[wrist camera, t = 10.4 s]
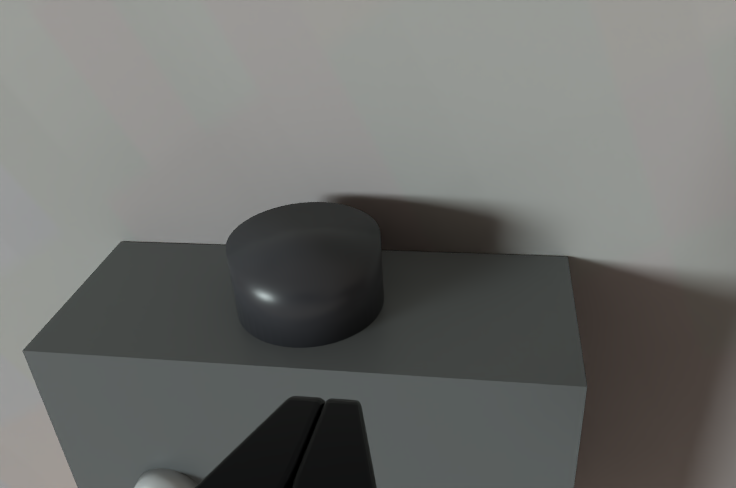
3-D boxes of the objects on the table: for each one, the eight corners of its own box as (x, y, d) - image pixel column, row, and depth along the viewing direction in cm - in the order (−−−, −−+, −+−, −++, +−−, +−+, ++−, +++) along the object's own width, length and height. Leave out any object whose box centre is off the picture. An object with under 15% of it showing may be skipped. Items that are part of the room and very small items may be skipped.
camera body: (574, 194, 19) (599, 332, 14) (543, 493, 25) (553, 665, 20) (105, 185, 22) (-19, 300, 16) (183, 461, 28) (110, 607, 23)
